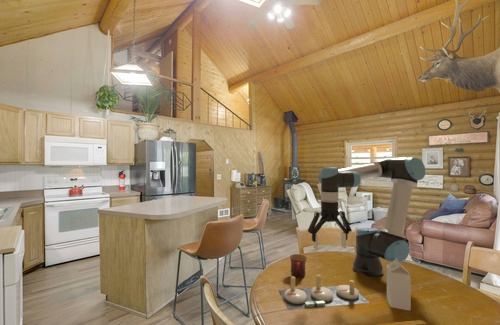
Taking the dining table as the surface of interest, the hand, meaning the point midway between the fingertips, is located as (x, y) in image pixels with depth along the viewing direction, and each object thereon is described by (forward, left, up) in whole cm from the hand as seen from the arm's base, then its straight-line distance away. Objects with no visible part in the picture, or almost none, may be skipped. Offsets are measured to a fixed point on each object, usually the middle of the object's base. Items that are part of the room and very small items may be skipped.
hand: (329, 247), depth 109 cm
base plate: (+6, +4, -20) cm, 22 cm away
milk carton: (-23, +14, -21) cm, 34 cm away
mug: (+9, -16, -21) cm, 28 cm away
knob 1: (+18, +4, -19) cm, 26 cm away
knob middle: (+6, +4, -19) cm, 20 cm away
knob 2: (-6, +4, -19) cm, 21 cm away
